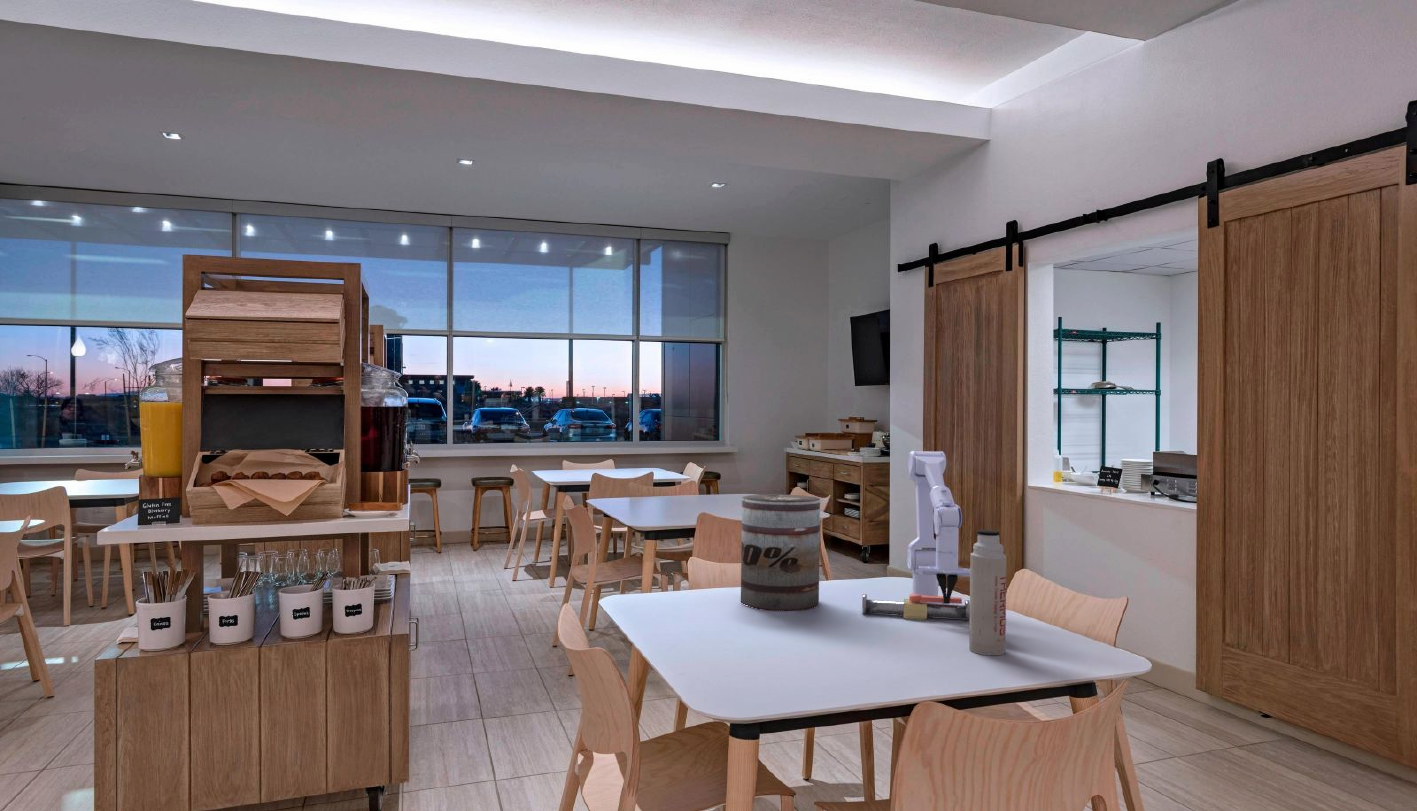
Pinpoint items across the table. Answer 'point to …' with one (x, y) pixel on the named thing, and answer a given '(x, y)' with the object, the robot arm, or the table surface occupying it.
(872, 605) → the pipe and valve
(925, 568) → the robot arm
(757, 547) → the barrel
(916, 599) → the lever
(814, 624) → the table surface
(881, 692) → the table surface
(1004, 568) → the thermos bottle
